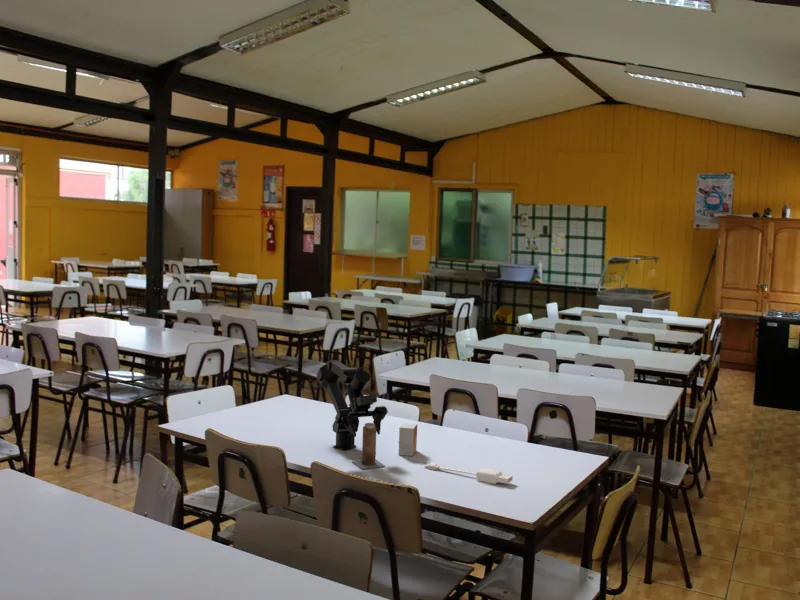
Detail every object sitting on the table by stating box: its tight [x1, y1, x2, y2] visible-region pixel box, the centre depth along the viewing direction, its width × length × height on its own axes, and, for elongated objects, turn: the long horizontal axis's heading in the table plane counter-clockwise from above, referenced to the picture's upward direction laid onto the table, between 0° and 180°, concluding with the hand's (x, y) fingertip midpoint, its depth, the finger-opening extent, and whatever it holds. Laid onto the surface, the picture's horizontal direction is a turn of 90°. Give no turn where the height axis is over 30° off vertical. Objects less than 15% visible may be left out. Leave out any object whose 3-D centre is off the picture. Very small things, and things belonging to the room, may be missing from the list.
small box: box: [398, 422, 418, 457], centre depth 275 cm, size 8×6×10 cm
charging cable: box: [423, 462, 514, 485], centre depth 249 cm, size 5×32×3 cm, turn 58°
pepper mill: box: [361, 422, 377, 465], centre depth 258 cm, size 5×5×14 cm
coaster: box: [351, 458, 386, 470], centre depth 258 cm, size 9×9×1 cm
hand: (367, 435), depth 259 cm, fingers open, 9 cm apart
